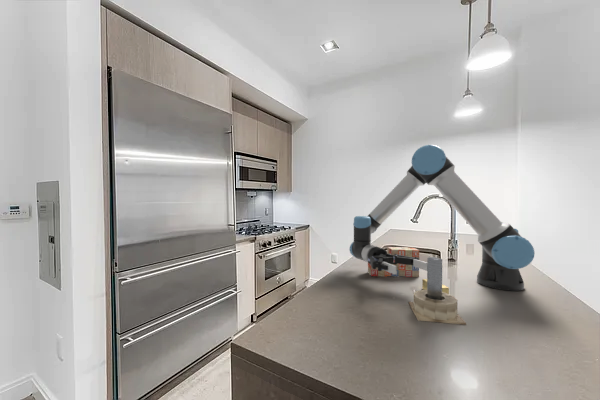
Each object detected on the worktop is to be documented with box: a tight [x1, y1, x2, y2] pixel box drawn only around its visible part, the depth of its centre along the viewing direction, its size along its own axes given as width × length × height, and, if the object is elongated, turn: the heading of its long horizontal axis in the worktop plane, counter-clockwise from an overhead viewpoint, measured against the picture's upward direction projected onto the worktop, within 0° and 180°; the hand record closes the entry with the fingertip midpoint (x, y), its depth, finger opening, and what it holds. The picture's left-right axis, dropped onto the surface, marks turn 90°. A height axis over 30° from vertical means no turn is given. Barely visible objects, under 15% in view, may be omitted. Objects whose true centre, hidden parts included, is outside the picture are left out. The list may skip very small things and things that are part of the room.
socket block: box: [408, 289, 467, 326], centre depth 78 cm, size 12×12×5 cm
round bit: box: [426, 256, 443, 300], centre depth 78 cm, size 4×4×16 cm
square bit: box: [421, 278, 450, 295], centre depth 95 cm, size 4×4×10 cm
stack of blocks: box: [367, 246, 420, 278], centre depth 118 cm, size 21×6×12 cm, turn 87°
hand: (412, 268), depth 87 cm, fingers open, 13 cm apart
